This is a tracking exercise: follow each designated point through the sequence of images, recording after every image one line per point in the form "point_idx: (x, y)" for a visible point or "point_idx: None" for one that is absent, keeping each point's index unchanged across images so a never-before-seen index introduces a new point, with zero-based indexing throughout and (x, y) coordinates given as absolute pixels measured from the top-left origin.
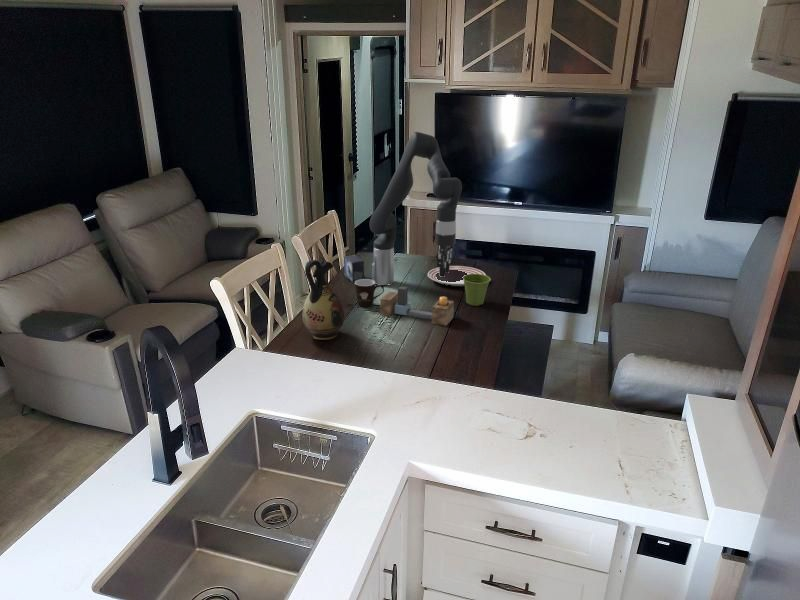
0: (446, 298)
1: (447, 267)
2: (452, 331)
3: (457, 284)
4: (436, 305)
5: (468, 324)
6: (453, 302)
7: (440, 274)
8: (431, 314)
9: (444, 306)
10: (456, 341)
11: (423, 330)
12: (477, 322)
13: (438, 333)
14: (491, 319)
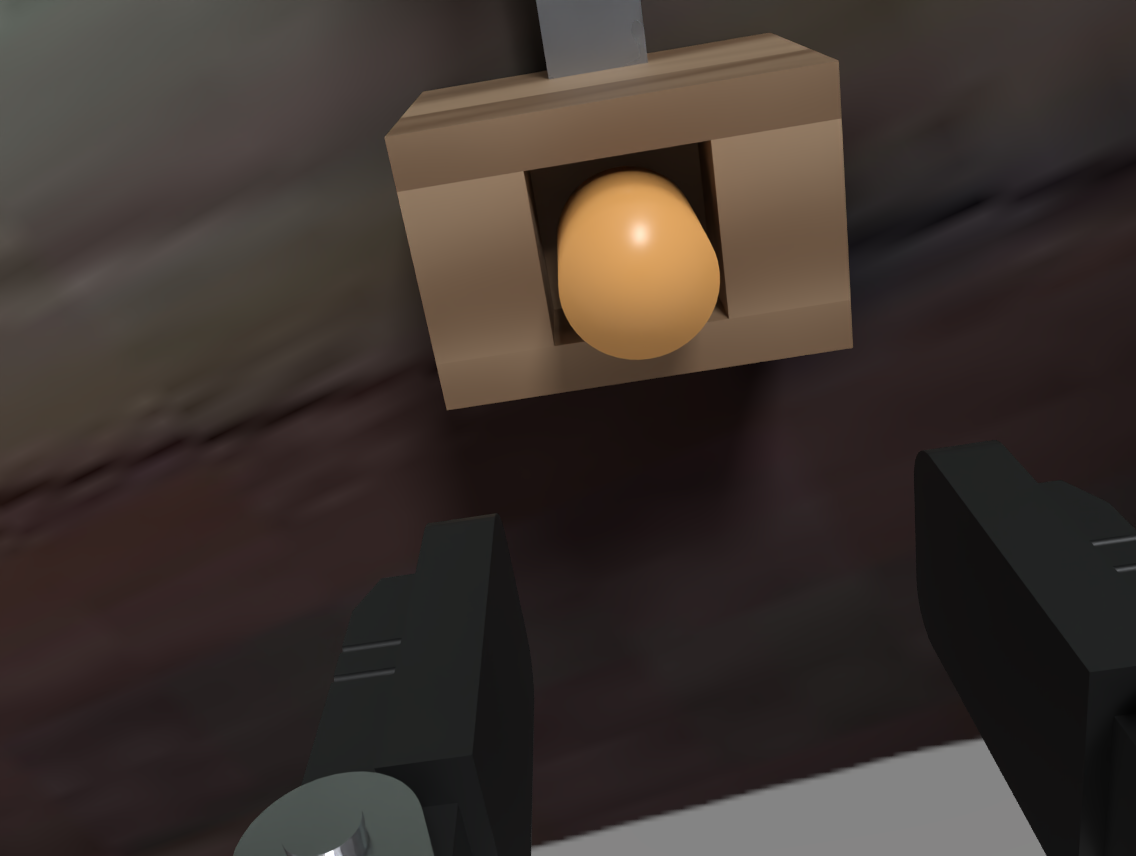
0: (640, 349)
1: (1001, 731)
2: (360, 448)
3: None
4: (495, 171)
5: (663, 516)
6: (823, 345)
7: (359, 637)
8: (565, 4)
9: (534, 318)
10: (150, 595)
11: (134, 108)
12: (774, 575)
13: (193, 332)
14: (935, 664)
